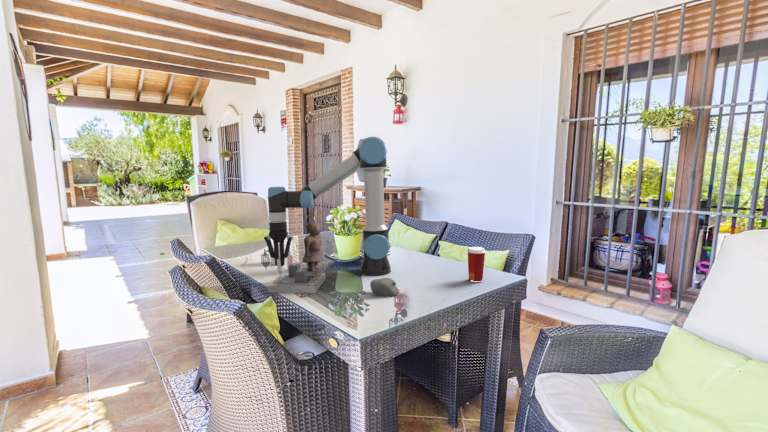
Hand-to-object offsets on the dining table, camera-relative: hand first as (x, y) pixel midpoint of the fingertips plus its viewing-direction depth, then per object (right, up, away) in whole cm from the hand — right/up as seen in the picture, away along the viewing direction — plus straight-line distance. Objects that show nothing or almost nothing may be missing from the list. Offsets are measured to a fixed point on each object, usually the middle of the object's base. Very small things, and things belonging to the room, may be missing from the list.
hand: (280, 272), depth 173 cm
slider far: (+7, -1, 0) cm, 7 cm away
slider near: (+12, -2, -11) cm, 16 cm away
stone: (+48, -7, -17) cm, 51 cm away
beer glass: (+89, -4, 0) cm, 89 cm away
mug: (-8, 0, +33) cm, 34 cm away
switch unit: (+9, -5, -5) cm, 12 cm away
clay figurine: (+11, -2, +21) cm, 24 cm away
